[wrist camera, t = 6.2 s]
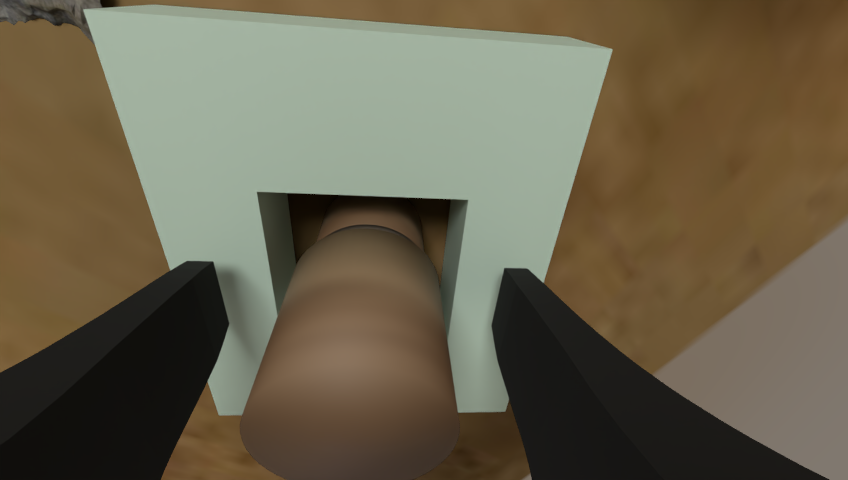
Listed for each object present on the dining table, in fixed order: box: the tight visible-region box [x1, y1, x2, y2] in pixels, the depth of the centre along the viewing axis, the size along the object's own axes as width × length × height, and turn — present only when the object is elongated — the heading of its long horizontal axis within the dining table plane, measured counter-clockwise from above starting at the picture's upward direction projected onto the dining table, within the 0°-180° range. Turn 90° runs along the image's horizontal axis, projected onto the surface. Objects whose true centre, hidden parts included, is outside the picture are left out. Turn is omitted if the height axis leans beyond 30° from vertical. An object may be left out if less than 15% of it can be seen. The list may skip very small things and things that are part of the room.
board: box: [83, 5, 613, 415], centre depth 12 cm, size 12×10×2 cm
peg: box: [240, 195, 460, 480], centre depth 10 cm, size 4×4×7 cm
